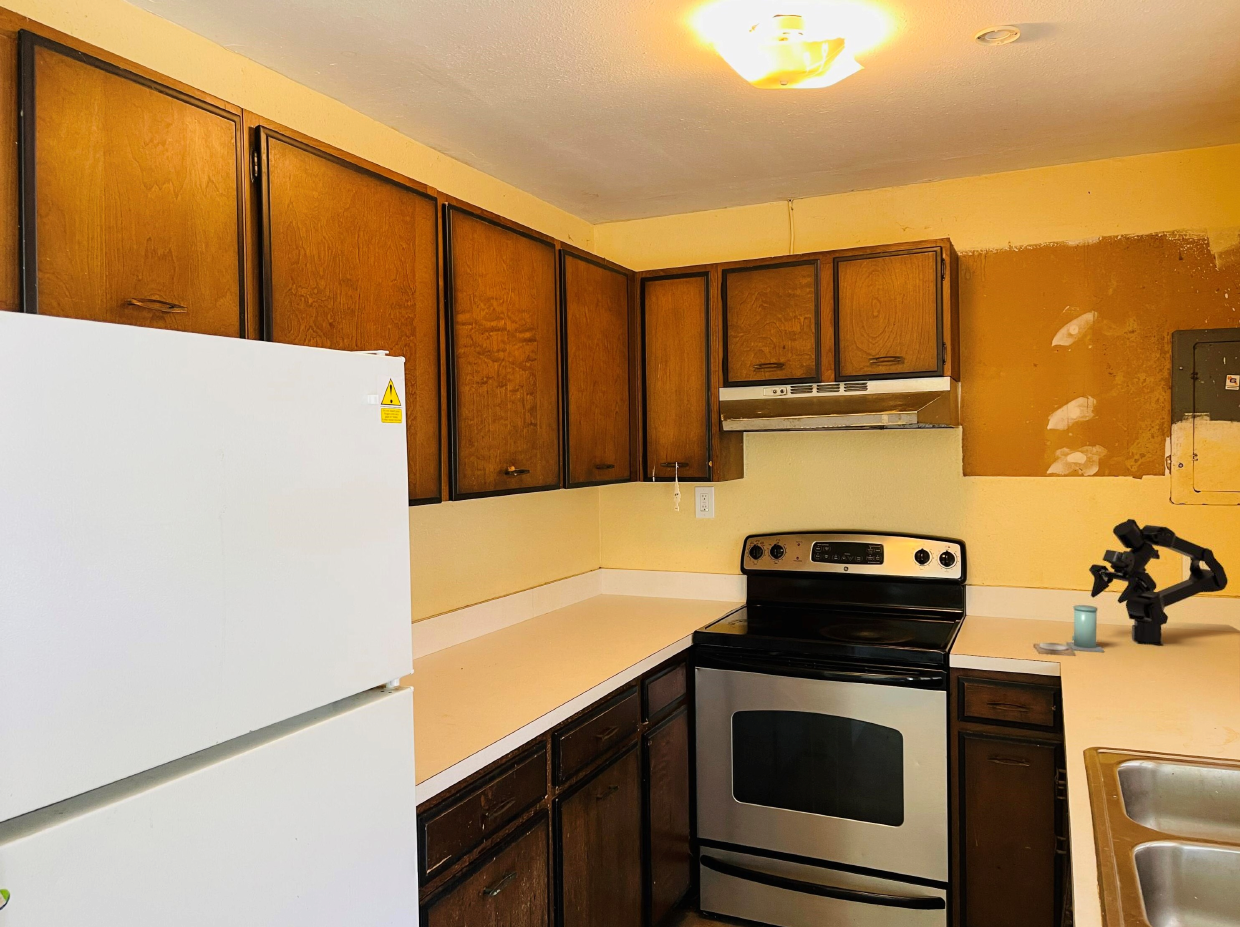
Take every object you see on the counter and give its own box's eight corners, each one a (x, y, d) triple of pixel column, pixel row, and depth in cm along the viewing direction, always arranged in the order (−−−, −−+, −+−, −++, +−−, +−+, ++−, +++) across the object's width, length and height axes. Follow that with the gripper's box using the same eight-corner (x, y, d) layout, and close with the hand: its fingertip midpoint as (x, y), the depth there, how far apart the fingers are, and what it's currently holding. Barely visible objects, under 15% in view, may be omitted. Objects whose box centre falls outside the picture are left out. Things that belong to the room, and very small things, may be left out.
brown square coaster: (1068, 648, 251) (1068, 642, 251) (1074, 655, 243) (1074, 650, 243) (1033, 646, 254) (1033, 641, 254) (1038, 653, 245) (1038, 648, 245)
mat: (1097, 645, 254) (1097, 643, 254) (1103, 652, 247) (1103, 650, 247) (1066, 644, 257) (1066, 641, 257) (1072, 650, 249) (1072, 648, 249)
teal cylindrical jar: (1094, 644, 254) (1094, 605, 253) (1099, 649, 248) (1099, 609, 248) (1070, 642, 255) (1070, 604, 255) (1074, 647, 250) (1074, 608, 249)
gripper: (1094, 536, 264) (1064, 575, 260) (1149, 543, 246) (1117, 585, 243) (1114, 562, 266) (1084, 601, 263) (1170, 571, 249) (1139, 612, 245)
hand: (1105, 599), depth 254 cm, fingers open, 9 cm apart
